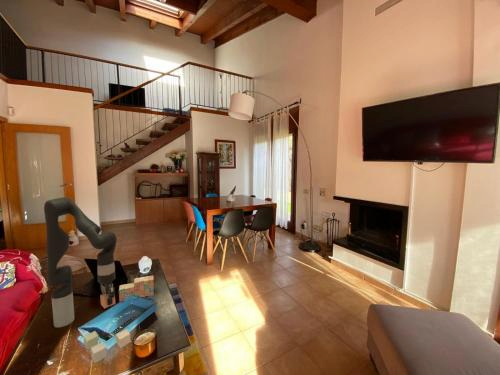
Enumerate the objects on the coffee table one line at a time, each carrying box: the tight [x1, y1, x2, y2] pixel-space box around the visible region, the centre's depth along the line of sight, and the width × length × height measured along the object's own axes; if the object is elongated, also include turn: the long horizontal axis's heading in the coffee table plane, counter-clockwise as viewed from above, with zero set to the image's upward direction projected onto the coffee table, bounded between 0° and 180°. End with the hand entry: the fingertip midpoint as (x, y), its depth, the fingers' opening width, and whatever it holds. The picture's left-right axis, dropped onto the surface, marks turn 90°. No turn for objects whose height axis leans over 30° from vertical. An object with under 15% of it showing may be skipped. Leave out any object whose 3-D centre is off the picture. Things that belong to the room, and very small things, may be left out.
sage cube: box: [83, 330, 100, 351], centre depth 113 cm, size 5×5×5 cm
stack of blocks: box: [118, 275, 155, 303], centre depth 153 cm, size 21×6×12 cm, turn 115°
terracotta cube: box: [99, 294, 116, 309], centre depth 114 cm, size 5×5×5 cm
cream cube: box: [115, 328, 131, 349], centre depth 114 cm, size 5×5×5 cm
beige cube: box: [90, 341, 108, 364], centre depth 106 cm, size 5×5×5 cm
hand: (108, 302), depth 115 cm, fingers closed on terracotta cube, 5 cm apart
